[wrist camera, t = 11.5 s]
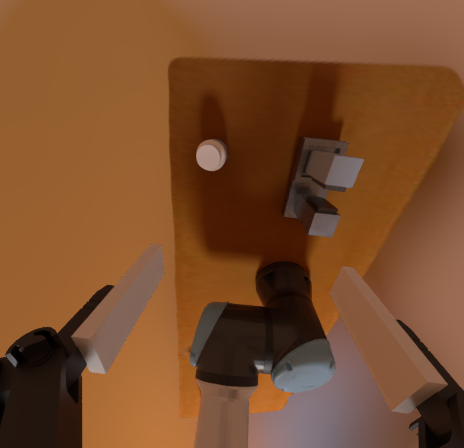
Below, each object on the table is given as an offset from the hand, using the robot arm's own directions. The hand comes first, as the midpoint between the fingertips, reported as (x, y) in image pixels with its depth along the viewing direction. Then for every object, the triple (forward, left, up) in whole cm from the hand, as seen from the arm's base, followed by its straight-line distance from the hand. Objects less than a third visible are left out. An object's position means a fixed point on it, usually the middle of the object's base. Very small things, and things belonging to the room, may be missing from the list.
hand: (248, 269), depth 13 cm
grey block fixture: (+2, -13, -29) cm, 32 cm away
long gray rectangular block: (+6, -13, -26) cm, 30 cm away
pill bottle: (+5, +7, -29) cm, 30 cm away
